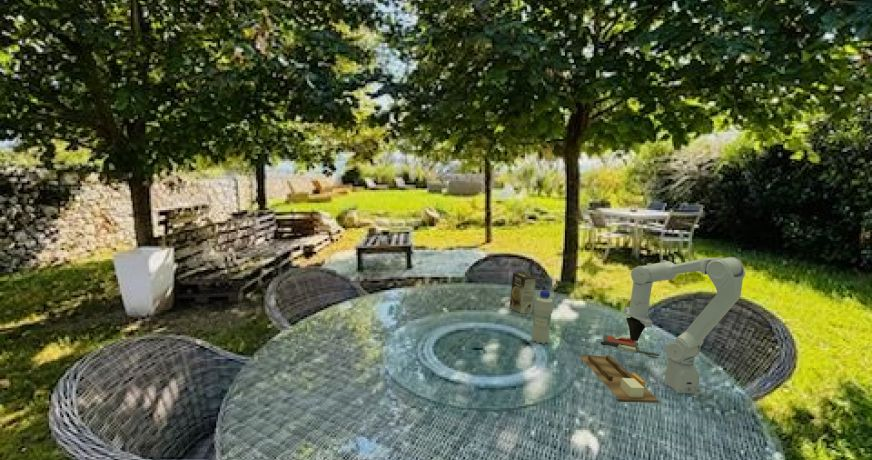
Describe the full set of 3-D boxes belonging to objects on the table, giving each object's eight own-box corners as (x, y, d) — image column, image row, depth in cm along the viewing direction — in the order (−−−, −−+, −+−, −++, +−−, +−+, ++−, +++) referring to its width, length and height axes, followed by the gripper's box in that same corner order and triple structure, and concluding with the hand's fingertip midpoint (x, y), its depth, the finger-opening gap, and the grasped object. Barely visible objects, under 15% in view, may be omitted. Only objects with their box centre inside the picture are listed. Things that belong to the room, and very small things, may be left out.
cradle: (658, 402, 141) (659, 395, 141) (618, 401, 140) (619, 394, 139) (610, 358, 171) (611, 352, 170) (578, 357, 169) (578, 351, 169)
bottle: (527, 343, 178) (533, 290, 175) (533, 337, 184) (539, 286, 181) (545, 348, 175) (552, 294, 172) (550, 342, 181) (557, 290, 178)
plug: (642, 397, 142) (644, 387, 141) (629, 397, 141) (631, 387, 141) (632, 387, 148) (634, 378, 147) (620, 387, 147) (621, 377, 147)
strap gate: (631, 381, 151) (633, 372, 151) (643, 391, 145) (645, 381, 145) (629, 381, 151) (630, 372, 151) (640, 391, 145) (642, 381, 145)
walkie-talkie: (600, 349, 180) (659, 360, 173) (601, 337, 179) (660, 348, 173) (600, 340, 188) (656, 351, 182) (601, 329, 187) (658, 339, 181)
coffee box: (508, 307, 219) (512, 272, 217) (520, 306, 222) (524, 271, 220) (520, 313, 211) (524, 277, 209) (532, 312, 214) (536, 277, 211)
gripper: (618, 294, 168) (612, 331, 170) (639, 307, 154) (633, 348, 156) (637, 294, 169) (631, 332, 171) (660, 308, 155) (654, 349, 157)
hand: (634, 340), depth 164 cm, fingers closed
